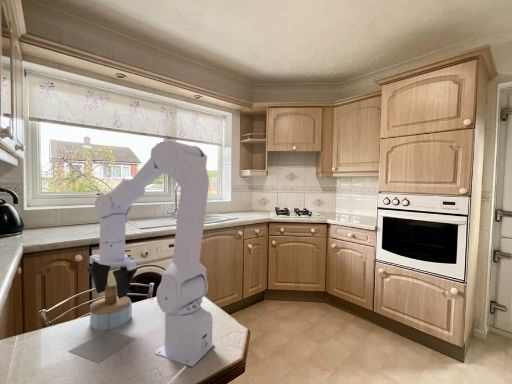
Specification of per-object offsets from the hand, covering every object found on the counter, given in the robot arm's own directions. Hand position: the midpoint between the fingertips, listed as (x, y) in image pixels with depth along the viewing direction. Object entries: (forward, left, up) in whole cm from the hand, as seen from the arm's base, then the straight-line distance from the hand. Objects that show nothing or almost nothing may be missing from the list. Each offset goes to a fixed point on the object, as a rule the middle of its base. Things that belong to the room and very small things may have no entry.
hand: (111, 294), depth 65 cm
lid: (0, 0, -3) cm, 3 cm away
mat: (-8, +8, -7) cm, 13 cm away
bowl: (0, 0, -7) cm, 7 cm away
